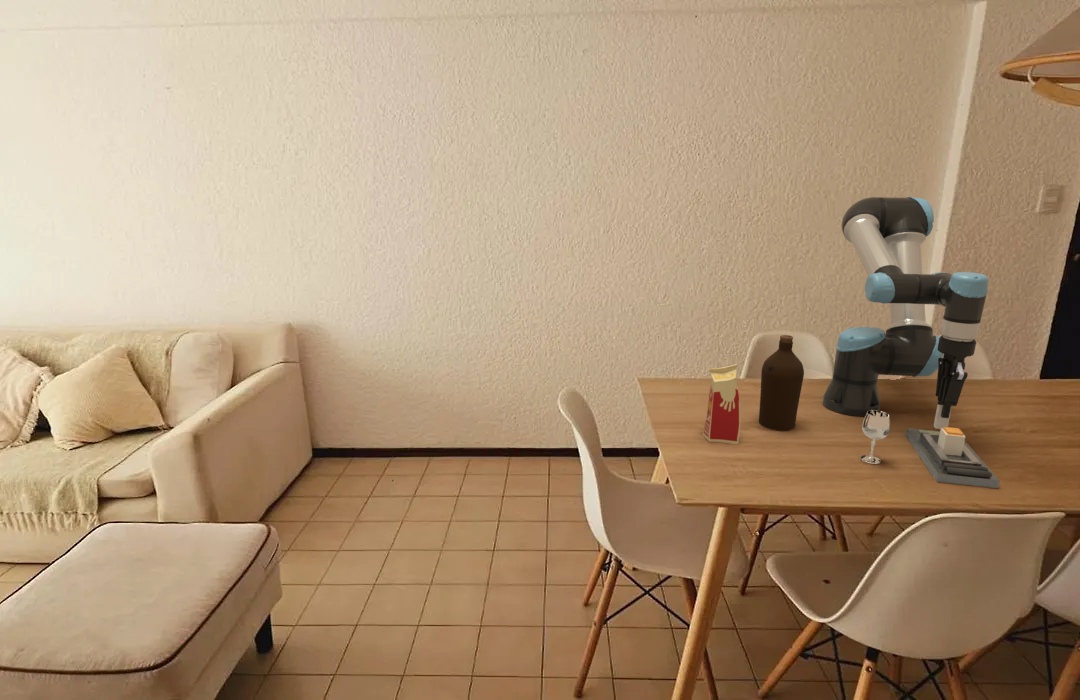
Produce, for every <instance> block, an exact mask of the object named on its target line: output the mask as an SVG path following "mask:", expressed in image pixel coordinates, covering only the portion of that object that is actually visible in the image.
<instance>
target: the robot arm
mask: <svg viewBox="0 0 1080 700" xmlns="http://www.w3.org/2000/svg"><path fill="white" fill-rule="evenodd" d="M934 220H935V217H934V211H933V207H932V205H931V204H930V202H929V201H928V200H926V199H925V198H921V197H914V196H907V197H887V196H886V197H885V196H884V197H882V196H881V197H878V196H871V197H865V198H862V199H860V200H858V201H856V202H855V203H854V204H852V205H851V206H850V207H849V208H848V209H847V210H846V212H845V213H844V215H843V217H842V221H841V230H842V234H843V236H844V238H845V240H847V242H849V243H851V244H852V246H853V248H854V250H855V251H856V253H857V255H858V259H859V260H860V262H861V265H862V266H863V268H864V271H865V272H866V274H867V277H866V279H865V285H864V292H865V298H866V300H868V301H869V302H871V303H877V304H878V303H881V304H889V307H890V308H889V309H890V326H888V327H887V328H886V329H885V330H884V329H882V328H879V327H870V326H857V327H850V328H847V329H845V330H843V331H841V332H840V333H839V335H838V338H837V339H838V340H837V344H836V347H835V349H836V350H835V351H836V352H835V358H834V366H833V373H832V379H831V381H830V383H829V384H828V386H827V388H826V390H825V392H824V394H823V398H822V405H823V407H825V408H827V409H829V410H831V411H833V412H836V413H839V414H843V415H848V416H853V417H854V416H855V417H865V415H866V413H867V411H869V410H878V411H881V410H880V409H881V400H880V394H879V390H878V379H879V375H881V376H883V375H884V376H899V377H903V376H904V377H912V378H916V377H930V376H932V375H933V374H934V373H936V371H937V378H936V387H935V397H937V406H936V412H935V415H934V421H933V428H934V429H938V430H940V429H941V428H943V427H949V423H950V419H951V414H952V408H953V407H957V406H958V402H959V399H960V396H961V393H962V391H963V387H964V385H965V381H966V380H967V378H968V375H969V374H968V372H966V371H964V370H965V368H966V362H965V359H966V358H968V357H969V358H970V357H973V356H974V355H975V351H976V346H977V340H976V339H977V338H978V335H979V330H980V329H981V328H982V325H981V321H982V316H983V312H984V307H985V303H986V299H987V295H988V285H989V277H988V276H987V275H985V274H982V273H977V272H971V271H958V272H954V273H953V274H951V273H949V272H943V271H941V272H939V271H938V272H937V271H936V272H933V273H930V274H929V273H928V274H925V273H923V264H922V249H921V245H922V244H923V243H925V241H926V240H927V237H928V236H929V235H930V234H931V233H932V230H933V227H934V225H933V223H934V222H935V221H934ZM925 305H939V306H943V307H944V311H943V312H944V313H943V317H942V319H941V325H940V332H939V333H940V335H941V336H938V335H937V334H936V335H934V332H933V331H934V330H933V329H934V328H933V327H932V326H931V325H930V324H929V323H927V321H926V307H925ZM981 330H982V329H981Z"/></svg>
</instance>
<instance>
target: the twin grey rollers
mask: <svg viewBox="0 0 1080 700" xmlns="http://www.w3.org/2000/svg"><path fill="white" fill-rule="evenodd" d="M943 468H944V469H946V471H947V473H950V474H959V475H968V476H977V477H986V478H990V477H992V473H991V472H989V471H988V468H989V467H988V468H986V467H981V466H972V465H962V464H953V463H944V464H943Z"/></svg>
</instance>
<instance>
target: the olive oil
mask: <svg viewBox="0 0 1080 700" xmlns="http://www.w3.org/2000/svg"><path fill="white" fill-rule="evenodd" d="M793 340H794V336H792V335H788V334H782V335H781V334H780V337H779V341H778V349H777V350H776V351H774V352H773V353H772V354H770V356H768V357H767V358H765V360H764V362H763V365H762V367H761V374H760V375H761V378H760V399H759V409H758V410H759V412H758V424H759V425H760V426H762V427H764V428H766V429H769V430H772V431H781V432H784V431H786V432H787V431H791V430H793V429H794V428H795V427H796V422H797V414H798V409H799V403H800V398H801V391H802V386H803V381H804V377H805V371H804V365H803V363H802V361H801V359H799V358H798V357H797V355H796V354H795V353H794V351H793V345H794V341H793Z"/></svg>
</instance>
